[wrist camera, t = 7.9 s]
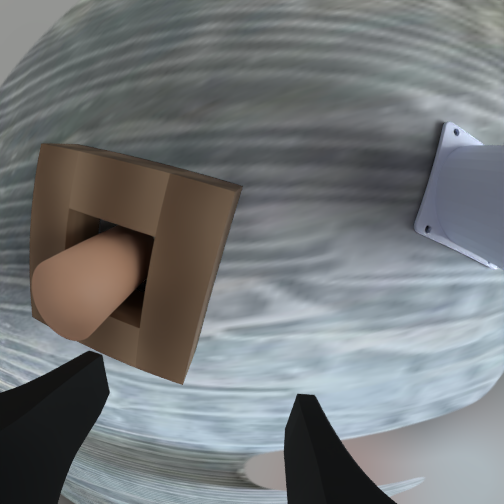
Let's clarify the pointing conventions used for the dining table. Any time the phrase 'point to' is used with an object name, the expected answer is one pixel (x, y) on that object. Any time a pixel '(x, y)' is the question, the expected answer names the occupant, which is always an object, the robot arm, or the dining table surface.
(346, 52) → the dining table surface
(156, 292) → the socket block
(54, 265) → the peg
